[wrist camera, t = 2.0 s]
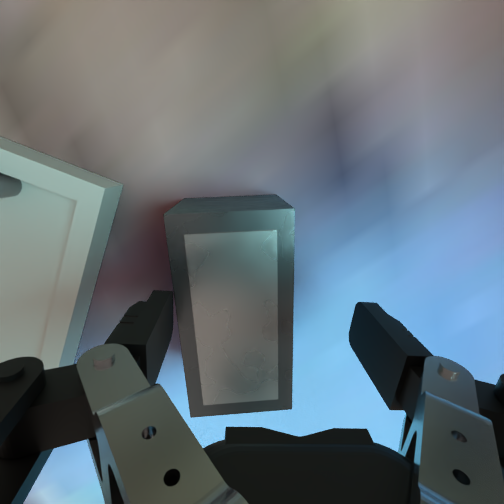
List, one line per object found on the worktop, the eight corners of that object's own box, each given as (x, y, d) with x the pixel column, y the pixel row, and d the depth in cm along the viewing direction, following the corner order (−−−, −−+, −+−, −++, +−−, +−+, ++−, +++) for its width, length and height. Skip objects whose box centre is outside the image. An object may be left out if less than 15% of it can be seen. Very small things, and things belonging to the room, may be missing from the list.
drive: (276, 345, 19) (292, 410, 14) (201, 351, 18) (190, 419, 13) (275, 194, 15) (295, 209, 11) (185, 198, 15) (162, 214, 10)
